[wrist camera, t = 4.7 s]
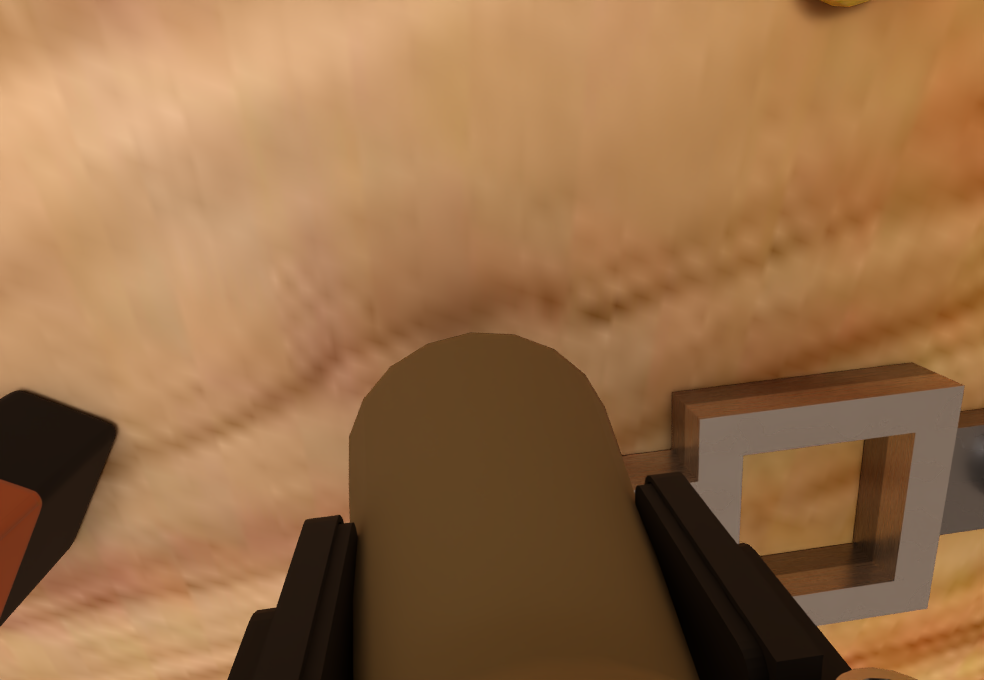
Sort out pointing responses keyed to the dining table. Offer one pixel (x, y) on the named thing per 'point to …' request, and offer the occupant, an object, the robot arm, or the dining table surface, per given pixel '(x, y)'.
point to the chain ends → (883, 484)
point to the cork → (500, 526)
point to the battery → (43, 487)
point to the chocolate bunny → (844, 2)
